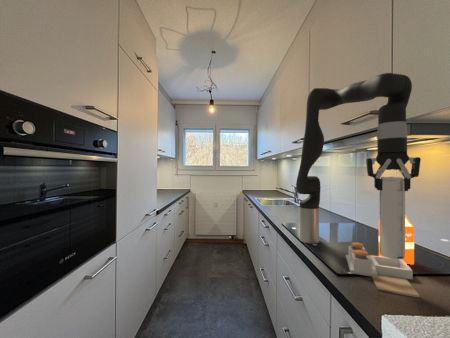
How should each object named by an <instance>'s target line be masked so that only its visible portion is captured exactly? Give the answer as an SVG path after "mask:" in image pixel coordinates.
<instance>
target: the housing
mask: <svg viewBox="0 0 450 338" xmlns="http://www.w3.org/2000/svg"><path fill="white" fill-rule="evenodd" d="M362 250H364V251H366V252H367V250H366V249H365V247H364V246H363V248H362ZM345 259H346V263H347V266H348V269H349V273H350V272H351V273H350V274H354V275H358V276H359V275H360V276H367V277H371V275H381V276H388V277H394V278H401V279H407V280H413V281H414V278H413V277H414V276H413V270H412V268H411V267H410V266H409V265H407V264H406V263H405V262H404V261H403V260H402V259H392V258H387V257H382V256H379V255H373V254H370V255H368V256H366V260H365V259H358V258H356V254H355V253H354V250H353V247H352V246H351V245H348V254H345Z"/></svg>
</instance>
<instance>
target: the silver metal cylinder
mask: <svg viewBox="0 0 450 338" xmlns="http://www.w3.org/2000/svg"><path fill="white" fill-rule="evenodd" d="M380 179H381V190H379V220H380V254H381V255H382V256H385V257H387V258H392V259H405V215H406V191H405V180H403V179H404V177H403V176H402V177H400V176H381V177H380Z"/></svg>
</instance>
